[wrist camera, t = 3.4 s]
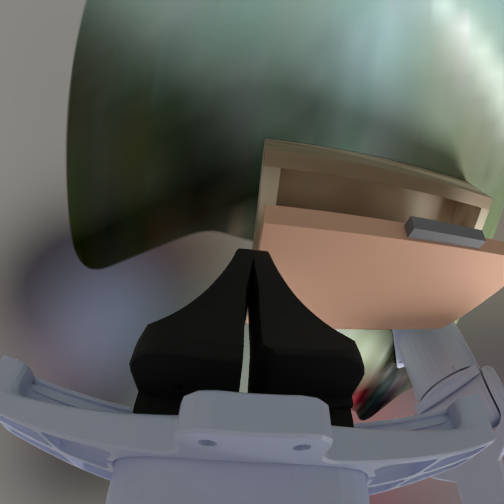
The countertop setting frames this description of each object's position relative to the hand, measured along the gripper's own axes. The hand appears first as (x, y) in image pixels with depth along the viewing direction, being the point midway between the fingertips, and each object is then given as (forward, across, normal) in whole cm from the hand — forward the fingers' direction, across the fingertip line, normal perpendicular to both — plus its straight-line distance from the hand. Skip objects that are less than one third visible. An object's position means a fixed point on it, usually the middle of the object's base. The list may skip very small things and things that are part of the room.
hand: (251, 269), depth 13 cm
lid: (+4, -9, +3) cm, 10 cm away
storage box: (+10, -9, +2) cm, 14 cm away
